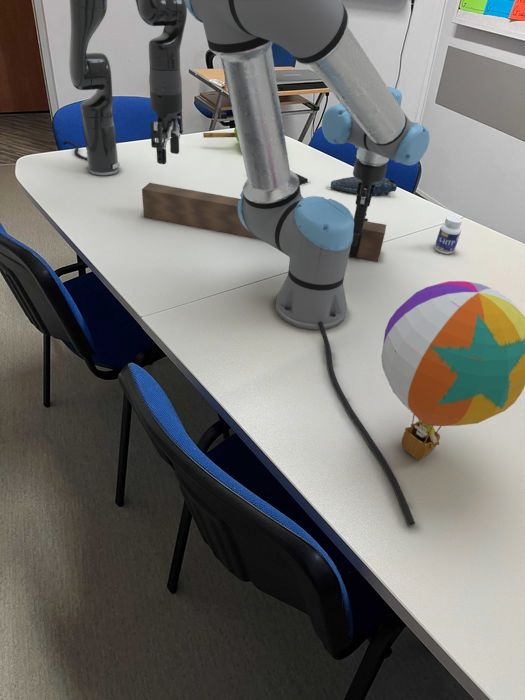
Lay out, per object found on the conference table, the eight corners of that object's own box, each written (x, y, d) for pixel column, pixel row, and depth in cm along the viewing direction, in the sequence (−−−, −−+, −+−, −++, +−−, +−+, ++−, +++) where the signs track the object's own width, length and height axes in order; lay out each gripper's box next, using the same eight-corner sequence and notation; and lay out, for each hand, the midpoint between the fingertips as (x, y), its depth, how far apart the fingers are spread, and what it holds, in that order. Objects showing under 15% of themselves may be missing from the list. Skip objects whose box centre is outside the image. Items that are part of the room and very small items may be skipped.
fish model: (395, 199, 165) (399, 183, 162) (329, 192, 166) (332, 176, 163) (393, 191, 171) (397, 176, 168) (330, 185, 172) (332, 169, 169)
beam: (379, 252, 136) (386, 224, 131) (378, 261, 133) (385, 232, 128) (151, 210, 146) (149, 182, 141) (143, 217, 142) (141, 189, 137)
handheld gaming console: (311, 174, 172) (301, 154, 164) (301, 192, 171) (290, 172, 163) (284, 170, 178) (272, 149, 170) (274, 187, 177) (262, 167, 169)
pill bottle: (433, 251, 139) (442, 220, 133) (435, 243, 143) (444, 213, 137) (453, 256, 138) (464, 225, 132) (454, 247, 142) (465, 217, 136)
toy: (330, 441, 84) (367, 281, 65) (404, 391, 94) (454, 241, 75) (431, 526, 73) (512, 363, 54) (502, 459, 83) (589, 303, 64)
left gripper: (163, 81, 129) (165, 148, 139) (138, 93, 118) (143, 164, 128) (191, 85, 128) (192, 152, 138) (168, 98, 117) (171, 169, 127)
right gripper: (359, 147, 128) (343, 233, 143) (350, 170, 114) (333, 263, 129) (390, 151, 127) (370, 238, 142) (384, 176, 113) (363, 269, 128)
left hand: (168, 158), depth 133 cm, fingers open, 8 cm apart
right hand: (353, 250), depth 135 cm, fingers closed on beam, 5 cm apart
